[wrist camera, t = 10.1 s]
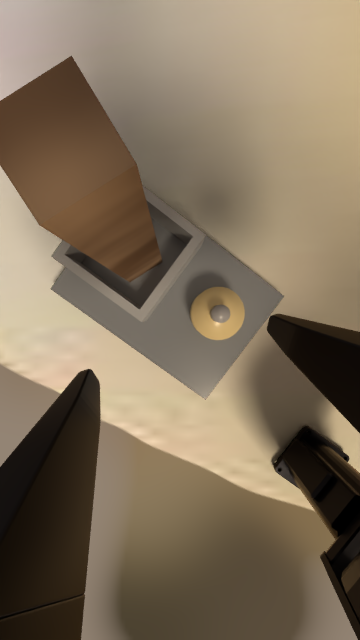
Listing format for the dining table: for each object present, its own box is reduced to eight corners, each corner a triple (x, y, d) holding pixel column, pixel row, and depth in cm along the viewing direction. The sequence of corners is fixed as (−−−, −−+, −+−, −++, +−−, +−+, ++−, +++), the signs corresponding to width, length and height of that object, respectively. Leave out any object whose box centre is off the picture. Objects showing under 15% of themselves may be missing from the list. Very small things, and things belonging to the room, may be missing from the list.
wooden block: (162, 262, 17) (136, 164, 6) (129, 282, 17) (39, 224, 6) (141, 227, 16) (71, 55, 5) (108, 248, 16) (-30, 119, 5)
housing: (278, 296, 18) (307, 292, 14) (203, 394, 18) (211, 417, 14) (133, 184, 17) (120, 145, 13) (57, 290, 17) (22, 283, 13)
